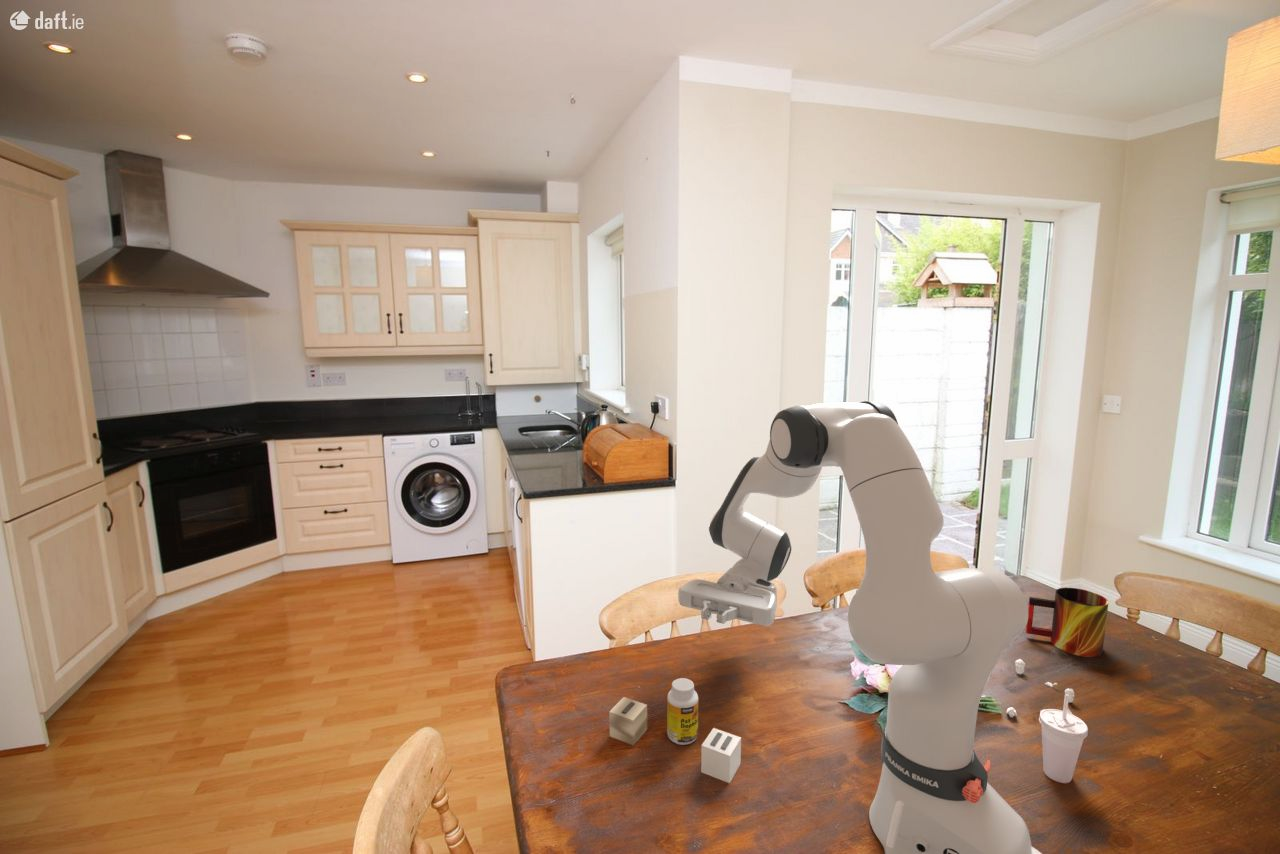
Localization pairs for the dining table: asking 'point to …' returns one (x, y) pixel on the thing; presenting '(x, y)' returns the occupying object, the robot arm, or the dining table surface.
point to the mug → (1073, 621)
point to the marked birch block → (628, 720)
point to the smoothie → (1061, 742)
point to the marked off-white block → (721, 755)
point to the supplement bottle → (682, 712)
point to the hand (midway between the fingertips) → (712, 617)
